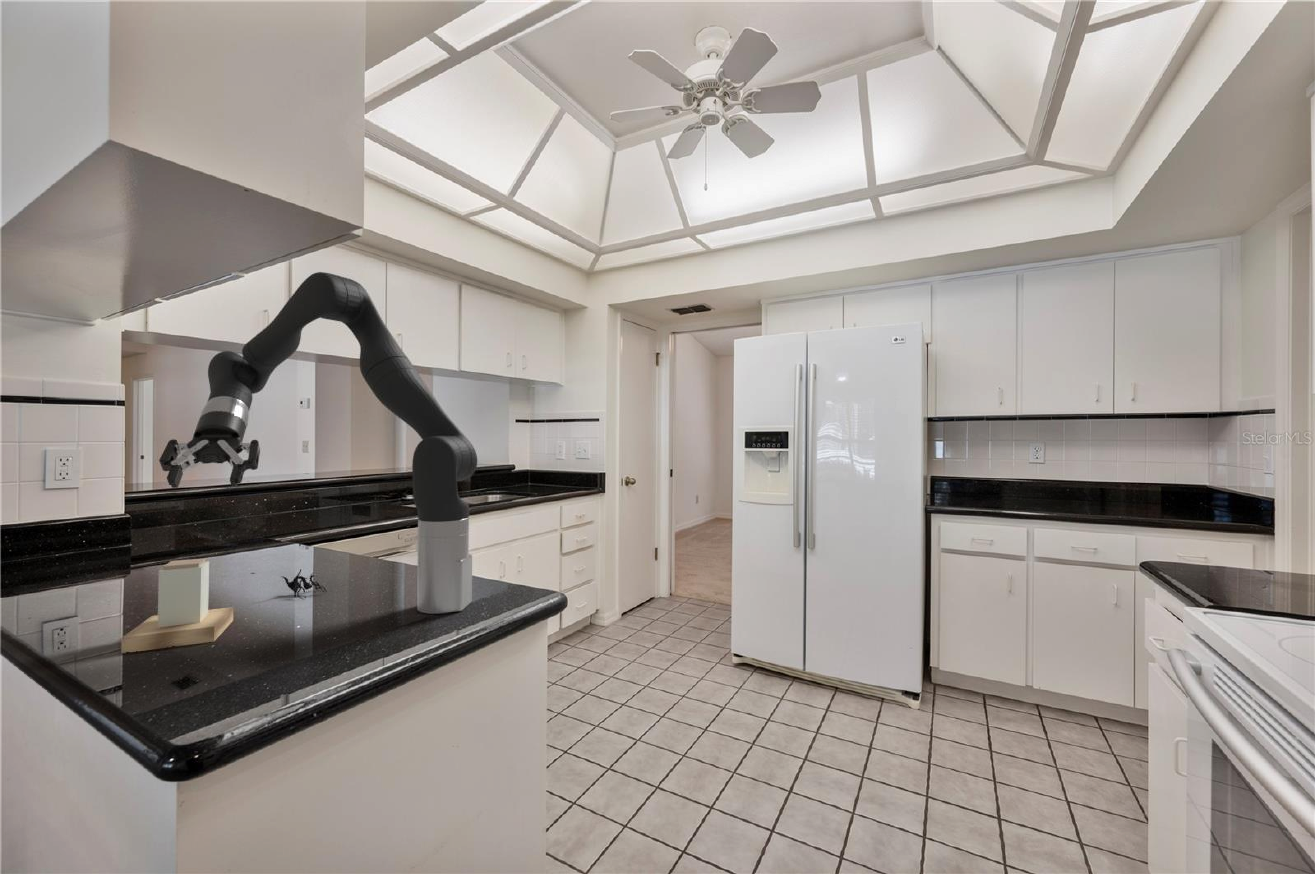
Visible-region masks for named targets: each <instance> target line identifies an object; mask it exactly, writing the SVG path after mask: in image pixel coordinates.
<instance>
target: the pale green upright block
mask: <svg viewBox="0 0 1315 874" xmlns="http://www.w3.org/2000/svg"><path fill="white" fill-rule="evenodd" d="M209 578H210V561H209V560H208V561H206V558H193V559H180V560H171V561H169V562H168V563H166V564H164V565H163V566H162V568H161V569H160V570H158V588H157V589H158V591H157V593H158V597H157V599H158V601H157V615H158V628H159V627H167V626H176V625H184V624H192V623H200V622H201V621H202V620H203V619H204V617H205V616H206V615H207V614H208V610H209V588H210V587H209V584H210V583H209V581H210V579H209Z"/></svg>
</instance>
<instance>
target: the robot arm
mask: <svg viewBox="0 0 1315 874" xmlns="http://www.w3.org/2000/svg"><path fill="white" fill-rule="evenodd" d="M318 319H323V320H328V321H329V320H330V321H335V322H339V323H340V322H341V323H343V324H344V325H346V327H347V328H348V329H349V330H350V332H352V335H354V337H355V339H356V340H357V341H358V344H359V347H360V352H359V353H360V354H359V368H360V369H359V370H360V373H361V375H362V378H363V379H364V381H365V383H366V384H367V385H368V387H369V389H370V390H371V391H372V393H373V394H374V396H375V397H376V399H377V400H378V401H379V402H380V403H381V404H382V405H383V406H384V407H385V408H387V409H388V411H390V412H391V413H393V414H394V416H396V417H398V418H399V419H401V421H403V422H404V423H405V424H406V425H408V426H409V427H411V428H412V429H413V430H414V431H415V432H416V433H417V435H419V437H420V438H421V440H420V442H418V444H417V446H416V447H415V450H414V452H413V457H412V462H411V463H412V465H411V466H412V467H411V468H412V469H411V470H412V471H411V472H412V493H413V494H412V496H413V502H414V506H415V508H416V511H417V581H416V582H417V585H416V592H417V594H416V601H417V602H416V603H417V604H416V606H417V607H416V609H417V611H418V612H420V613H421V614H422V613H424V614H431V615H432V614H433V615H434V614H447V613H452V612H462V611H463V610H465V608H467V606H469V605H470V604H471V603H472V602H473V554H471V553H470V551H469V549H470V544H469V543H470V542H469V541H470V505H469V503H468V502H467V501H466V500H463V499H461V497H460V496H459V492H458V482H462V481H466V480H468V479H470V478H471V477H472V476H473V475H474V474H475V471H476V470H477V467H478V455H477V451H476V449H475V447H474V445H473V444H472V443H471V441H470V440H469V439H468V438H467V436H465V434H464V432H462V431H461V430H460V429H459V427H458V426H457V425H456V424H455V423H454V422H453V420H452V419H451V417H449V416H448V414H447V413H446V412H445V410H444V409H443V408H442V407H441V405H440V403H439V401H438V400H437V399H436V397H435V396H434V394H433V393H432V391H431V390H430V389H429V387H428V386H427V384H426V383H425V382H424V380H423V379H422V377H421V375H420V374H419V372H418V371H417V369H416V368H415V366H414V365H413V363H412V362H411V360H410V359H409V358H408V356H407V355H406V354H405V352H404V351H403V350H402V348H401V346H399V343H398V342H397V341H396V339H395V338H394V336H393V334H392V333H391V331H389V329H388V327H387V326H386V324H385V323H384V320H383V318H382V317H381V315H380V314H379V311H378V310H377V307H376V306H375V304H374V302H373V300H372V298H371V297H370V295H369V292H367V290H366V288H365V287H364V286H362V284H361V283H359V282H357V281H356V280H354V279H351V278H348V277H344V276H340V275H338V274H337V275H336V274H335V273H334V274H333V273H329V272H322V271H317V272H314V273H312V274H310V275H309V276H308V277H307V278H305V279H304V280H303V281H302V283H301V284H300V285H299V286H298V287H297V289H296V290H295V291H294V293H293V294H292V295H291V296H290V297H289V299H288V300H287V301H286V303H284V306H283V307H282V308H281V310H280V311H279V312H278V314H277V315H275V317H274V319H273V320H272V321H271V322H270V323H268V325H267V326H265V328H264V329H262V330H261V331H260V332H258V333H257V334H256V335H255V336H253V337H252V338H251V339H250V340H249V341H247V342H246V343H245V344H244V345H243V347H242V350H241V355H240V354H239V353H237V352H234V351H230V350H225V351H220V352H218V353H216V354H215V355H214V356H213V357H212V358H211V359H210V361H209V364H208V368H207V375H208V376H207V378H208V383H209V390H210V393H209V396H208V399H207V402H206V404H205V405H204V407H203V408H202V410H201V413H200V417H199V419H198V422H197V424H196V428H195V430H194V433H193V436H192V439H191V440H189V441H188V442H178V440H177V439H176V438H175V439H173V438H172V439H170V440H169V441H168V442H167V443H166V445H165V448H164V450H163V452H162V453H161V456H160V458H159V460H158V462H159V465H160V467H161V469H162V471H164V472H168V474H167V477H166V481H167V483H168V486H170V487H171V488H172V489H173V488H174V489H178V488H179V486H180V483H181V480H182V477H183V474H184V472H185V471H186V470H188V469H192V468H194V467H197V466H199V465H200V464H207V465H208V464H224V463H226V462H227V463H228V464H229V465H230V466H231V467H232V469H231V470H232V471H231V473H230V477H229V483H230V486H231V487H237V486H238V484H241V483H242V481H243V478H244V475H245V472H246V471H248V470H252V471H255V470H258V468H259V461H260V456H261V455H260V454H261V448H260V447H261V446H260V444H259V440H257V439H252V440H251V441H250V442H243V440H244V436H245V433H246V431H247V427H248V426H249V425H248V424H249V416H250V414H249V413H250V410H251V406H252V402H253V395H254V394H258V393H259V392H261V391H263V389H264V388H265V386H266V384H267V383H268V380H269V379H270V376H271V375H272V373H273V372H274V371H275V370H276V368H277V367H278V366H280V365H281V364H282V363H283V362H285V361H286V360H287V359H289V358H291V356H292V355H293V354H294V353H295V352H296V351H297V350H298V347H299V346H300V342H301V339H302V331H303V329H304V327H306V326H307V325H309V324H310V323H312V322H314V321H316V320H318ZM244 450H245V451H246V454H248V457H247V459H245V460H243V459H242V458H241V456H239V454H240V453H242V452H243V451H244ZM193 457H194V458H193Z"/></svg>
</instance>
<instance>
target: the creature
mask: <svg viewBox="0 0 1315 874" xmlns="http://www.w3.org/2000/svg"><path fill="white" fill-rule="evenodd" d="M301 573H302V569H299V572H298V573H297V574H296V576H294V578H293V580H292V581H290V582H289V579H288V578H287V577H285V576H281V578H282V579H284V580H285V583H286V585H287V587H288V588H289V589H290V590H291V591H293V594H294V595H293V596H297V597H298V598H299V599H302V600H303V598H302V596H301V597H300V592H301V590H303V593H304V592H306V591H307V590H309V589H311V588H313V586H314V588H315V590H320V589H321V592H323V593H327V592H328V591H327V588H325V586H322V585H320V584H319V582H318V581H313V578H314V577H315V575H313V574H314V572H313V573H311V574H310V575H309V577H304V576H301V575H300V574H301ZM308 578H309V582H307V580H308Z"/></svg>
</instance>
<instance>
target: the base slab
mask: <svg viewBox="0 0 1315 874" xmlns="http://www.w3.org/2000/svg"><path fill="white" fill-rule="evenodd" d="M233 621H234V606H230V607H223V608H222V607H221V608H214V609H208V614H207V615H206V616H205V617H204V619H203V620H202V621H201V622H200V623H192V624H184V625H176V626H167V627H159V628H158V614H157V615H151V616H150V617H148V618H147V619H146V620H145V621H142V622H141V623H140V624H138V626H136V627H135V628H133V629H132V630H131V631H129V632H128V633H126V634H125V635H123V636H121V654H127V653H126V652H129V653H134V652H135V653H136V651H137V652H142V651H143V652H145V651H151V650H152V651H153V650H158V649H167V647H168V648H173V647H172V646H175V647H182V646H190V645H197V644H206V643H211V642H212V643H213V642H215V641H216V640H217V639H218V638H219V636H221V635H222V633H223V632H225V630H226V629H227V628H228V627H229V626H230V624H232V622H233Z"/></svg>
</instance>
